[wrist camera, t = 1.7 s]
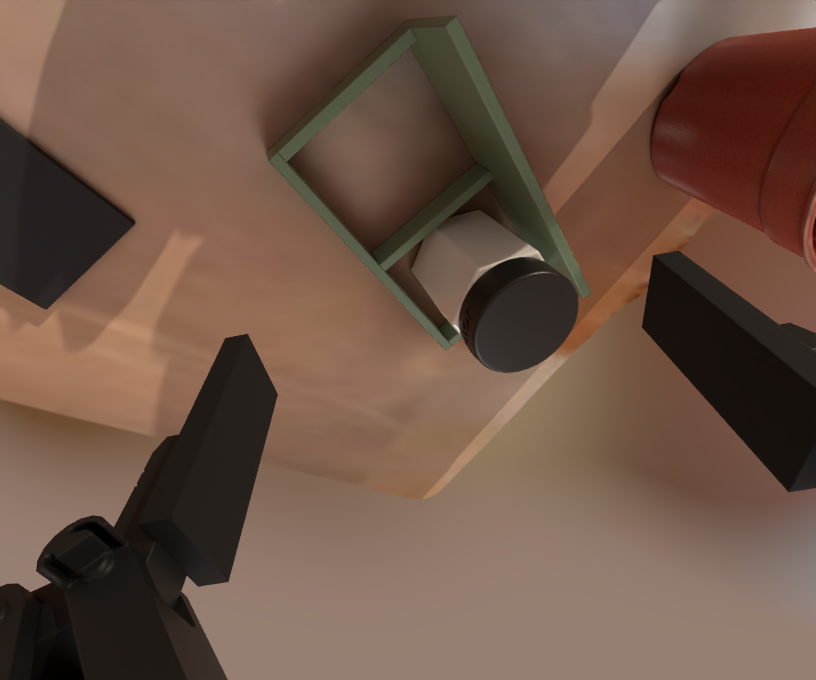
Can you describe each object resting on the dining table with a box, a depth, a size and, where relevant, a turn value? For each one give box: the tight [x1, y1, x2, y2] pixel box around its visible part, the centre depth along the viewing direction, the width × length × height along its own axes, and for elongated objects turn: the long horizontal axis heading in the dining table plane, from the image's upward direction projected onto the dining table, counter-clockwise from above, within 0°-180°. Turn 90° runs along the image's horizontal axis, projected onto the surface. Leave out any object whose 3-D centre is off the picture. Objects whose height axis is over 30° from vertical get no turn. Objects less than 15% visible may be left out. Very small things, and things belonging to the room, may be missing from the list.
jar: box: [411, 210, 578, 373], centre depth 34 cm, size 9×8×12 cm
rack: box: [266, 15, 591, 351], centre depth 33 cm, size 22×13×8 cm, turn 36°
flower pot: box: [651, 28, 816, 272], centre depth 33 cm, size 16×16×16 cm
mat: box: [0, 119, 135, 309], centre depth 27 cm, size 9×9×1 cm
